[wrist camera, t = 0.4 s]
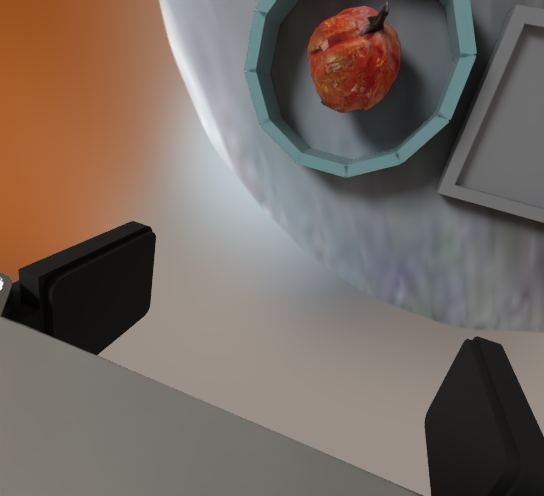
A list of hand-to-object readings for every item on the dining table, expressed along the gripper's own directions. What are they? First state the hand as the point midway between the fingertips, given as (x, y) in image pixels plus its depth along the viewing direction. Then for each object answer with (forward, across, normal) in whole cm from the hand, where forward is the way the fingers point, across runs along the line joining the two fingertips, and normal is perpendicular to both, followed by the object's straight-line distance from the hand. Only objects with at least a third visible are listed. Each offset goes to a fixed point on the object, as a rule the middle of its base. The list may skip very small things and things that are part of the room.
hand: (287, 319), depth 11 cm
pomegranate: (+27, +3, -9) cm, 29 cm away
